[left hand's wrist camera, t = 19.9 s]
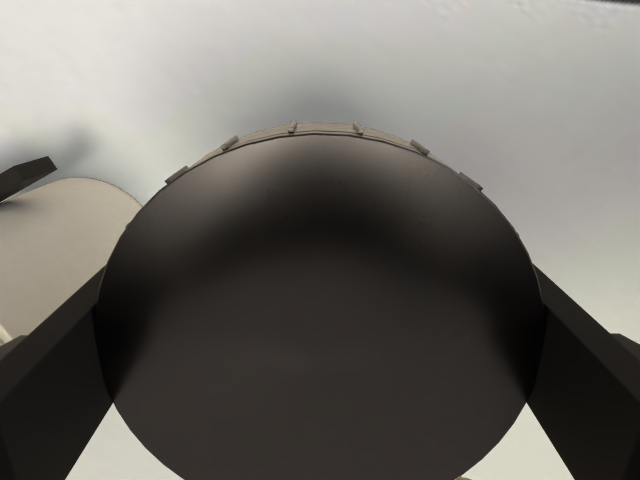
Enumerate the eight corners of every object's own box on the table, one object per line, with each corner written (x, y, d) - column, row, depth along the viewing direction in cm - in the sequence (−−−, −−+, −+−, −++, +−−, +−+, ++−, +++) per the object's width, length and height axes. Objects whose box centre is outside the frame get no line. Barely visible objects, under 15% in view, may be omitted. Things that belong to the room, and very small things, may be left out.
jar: (60, 321, 32) (-165, 534, 17) (-8, 199, 29) (-354, 330, 14) (182, 289, 31) (55, 485, 16) (126, 159, 28) (-96, 255, 13)
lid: (596, 245, 11) (649, 279, 10) (382, 505, 15) (391, 567, 13) (225, 30, 10) (203, 21, 8) (75, 379, 13) (34, 430, 11)
